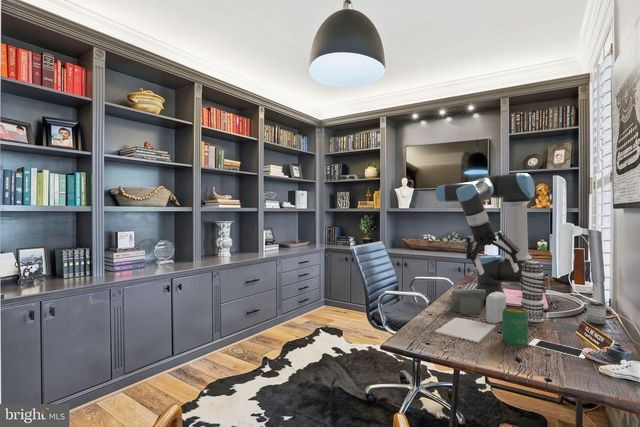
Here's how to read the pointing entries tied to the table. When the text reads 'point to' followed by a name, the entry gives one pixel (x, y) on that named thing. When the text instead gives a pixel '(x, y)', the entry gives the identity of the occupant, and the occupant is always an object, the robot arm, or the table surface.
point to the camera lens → (596, 312)
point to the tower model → (532, 290)
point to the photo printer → (495, 307)
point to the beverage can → (515, 326)
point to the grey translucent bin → (467, 301)
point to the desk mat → (466, 329)
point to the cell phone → (557, 348)
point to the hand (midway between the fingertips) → (498, 272)
